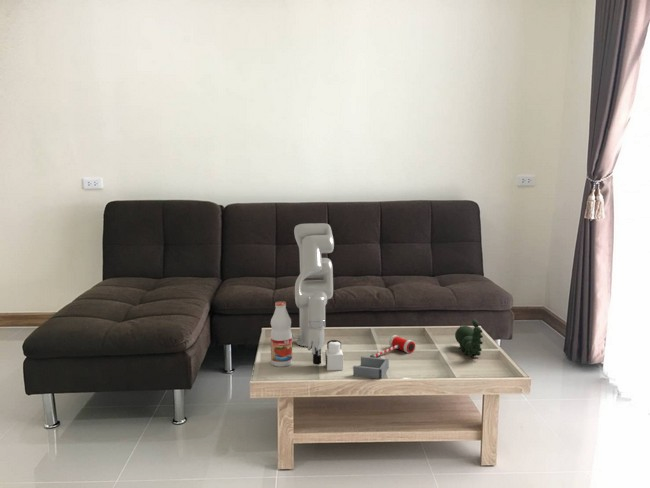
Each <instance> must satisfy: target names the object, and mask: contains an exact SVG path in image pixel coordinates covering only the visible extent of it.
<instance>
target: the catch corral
mask: <svg viewBox="0 0 650 488" xmlns="http://www.w3.org/2000/svg"><path fill="white" fill-rule="evenodd" d="M389 361H390V360H389V358H381V357H375V358H372V357H370V356H360V365H353V367H352V371H353V372H352V374H353V375H352V376H355V377H363V378H370V379H372V378H373V379H379V380H380V379H381V380H382V379H383V378H384V376H385V375H386V373H387V371H388V370H389V367H390V365H389V363H390V362H389Z"/></svg>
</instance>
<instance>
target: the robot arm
mask: <svg viewBox="0 0 650 488" xmlns="http://www.w3.org/2000/svg"><path fill="white" fill-rule="evenodd" d="M293 232H294V233H293V235H294V239H295V241H296V243H297V246H298V251H299V275H298V276H297V278H296V280H295V284H294V299H295V305H296V307H297V308H298V309H299V312H298V313H299V333H292V339H297V340H296V344H297V345H298V346H299V345H300V347H303V346H304V348H305V347H306V348H307V350H308V351H310V350H311V355H312V357H313V358H312V365H318V366H320V365H322V348H323V347H324V346H325V341H326V340H325V338H326V335H325V328H326V305H327V304H328V300H330V299H332V298H333V295H334V274H333V273H334V270H333V269H334V268H333V263H332V260H331V259H330V258H328V257H322V254H331V253H333V252H334V249H335V248H334V247H335V240H334V236H333V231H332V227H331V225H330V224H328V223H325V222H324V223H323V222H322V223H299V224H297V225H295V227H294V230H293ZM308 278H309V279H310V278H311V280H305V279H308ZM312 278H315V279H316V278H322V279H318V280H317V279H316V280H315V279H314V280H313V279H312Z"/></svg>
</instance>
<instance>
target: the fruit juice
mask: <svg viewBox="0 0 650 488" xmlns="http://www.w3.org/2000/svg"><path fill="white" fill-rule="evenodd" d="M274 305H275V306H274V307H275V309H274V312H273V315H272V317H271V319H270V326H271V330H270V360H271V361H270V362H271V365H272V366H273V367H277V368H281V367H289V366H291V365H292V363H293V337H292V334H293V333H292V329H291V327H292V318H291V317H290V315H289V313H288V310H287V308H286V307H287V302H286V301H281V300H280V301H275V304H274Z"/></svg>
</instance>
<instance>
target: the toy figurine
mask: <svg viewBox="0 0 650 488" xmlns="http://www.w3.org/2000/svg"><path fill="white" fill-rule="evenodd" d="M471 324H472V326H473V327H474V328H472V327H471V326H468V325H460V326H459V327H458V328H457V329H456V330H455V334H454V337H455V340H456V342H457V343H458V344H459V347H460V349H459V350H460V351H462V352H463V354H464V355H465V356H469V357H472V356H473V355H475V356H481V352H482V350H483V349H482V346H481V345H483V344H484V343H483V341H482V338H483V337H484V336H483V335H482V333H483V329H481V327H479V326H480V325H479V322H478V320H476V319H474V318H473V319H472V320H471Z"/></svg>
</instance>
